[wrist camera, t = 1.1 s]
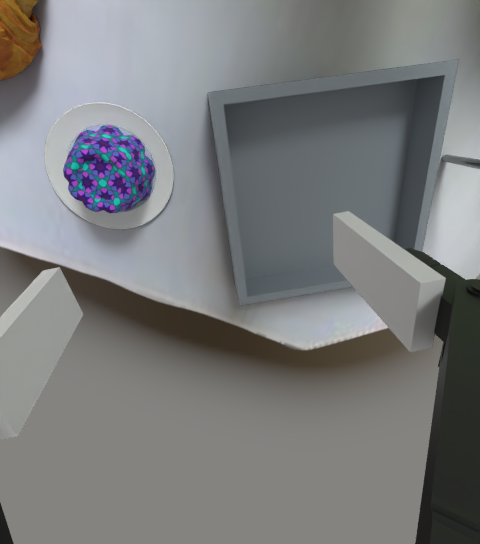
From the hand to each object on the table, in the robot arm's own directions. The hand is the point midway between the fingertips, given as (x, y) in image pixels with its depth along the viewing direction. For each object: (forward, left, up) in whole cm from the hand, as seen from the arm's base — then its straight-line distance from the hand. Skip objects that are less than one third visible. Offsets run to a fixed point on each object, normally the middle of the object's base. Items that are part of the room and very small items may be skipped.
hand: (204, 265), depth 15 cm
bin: (+3, +13, -20) cm, 24 cm away
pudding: (-2, -8, -20) cm, 22 cm away
